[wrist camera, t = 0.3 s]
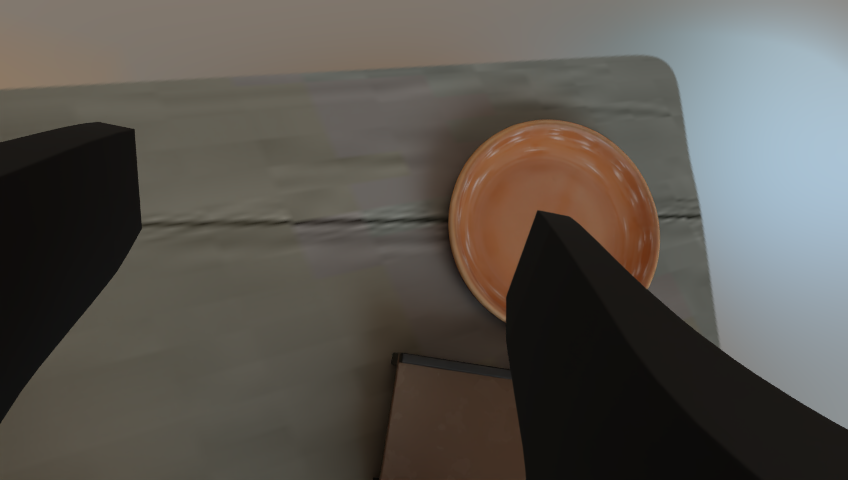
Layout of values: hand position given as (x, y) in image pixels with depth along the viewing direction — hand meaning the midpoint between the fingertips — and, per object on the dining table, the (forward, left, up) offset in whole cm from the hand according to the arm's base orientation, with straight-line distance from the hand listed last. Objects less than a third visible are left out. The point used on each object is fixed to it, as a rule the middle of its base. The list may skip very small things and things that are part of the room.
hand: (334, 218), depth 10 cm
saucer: (+9, -15, -30) cm, 35 cm away
